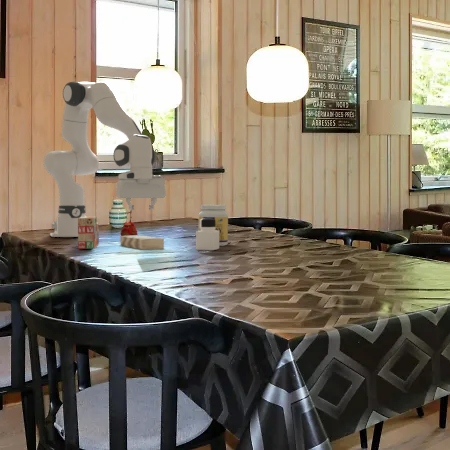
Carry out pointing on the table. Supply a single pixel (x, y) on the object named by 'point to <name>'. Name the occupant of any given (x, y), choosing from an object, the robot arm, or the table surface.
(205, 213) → the supplement tub
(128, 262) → the table surface
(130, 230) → the red clay folk toy
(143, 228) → the table surface
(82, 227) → the stack of blocks
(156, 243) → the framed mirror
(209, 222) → the medicine bottle
